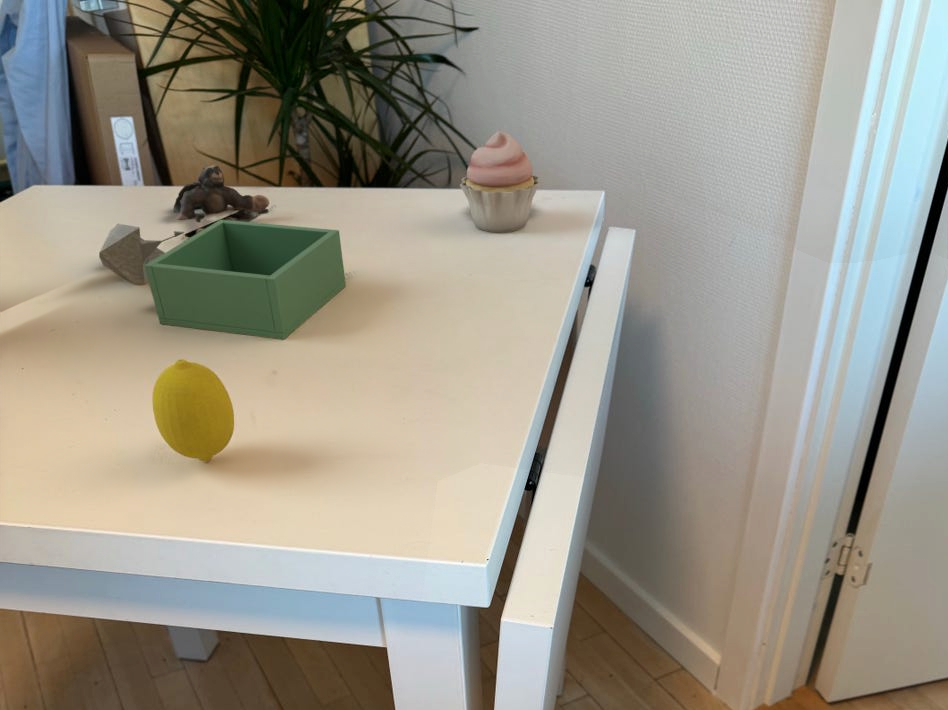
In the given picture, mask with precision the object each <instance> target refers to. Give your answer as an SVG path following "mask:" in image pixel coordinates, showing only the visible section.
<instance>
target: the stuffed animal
mask: <svg viewBox="0 0 948 710" xmlns="http://www.w3.org/2000/svg"><path fill="white" fill-rule="evenodd" d="M197 181H198V182H195V181H194V182H192V183H188V184H185V185H184V186H183V187H182V188H181V189H180V191H179V193H178V196H177V197H176V198H175V202H174V204H173V213H174V214H178V215H177V216H176V217H174V220H176V221H188V220H192V219H194V218H195V217H196V218H195V222H196V223H201V222H202V221H201V220H203V219H204V218H205V217H206V216H205V215H204V214H206V215H215V214H219V213H223V212H226V211H227V210H228V206H231V208H233V209H234V210H237V211H236V212H234V213H231V214H229V215H226V216H224V217H222V218H220V219H217V220H215V221H212V222H210V223H208V224H205V225H202V226H200V227H198V228H196V229H193V230H191V231H188V232H186V233H183V236H185V237H187V239H189V238H191V237H192V236H194V235H196V234H197V233H199V232H201V231H202V230H204V229H206V228H207V227H209V226H211V225H212V224H214V223H216V222H217V221H219V220H230V221H242V222H250V221H252V220H253V219H257V218H258V217H259V216H261V214H266V213H269V212H270V210H269V209H268V207H269V205H270V200H269V198H268V197H267V196H265V195H262V194H257V195H250V194H246V195H242V194H241V193H240V192H238V190H237V189H235V188H233V187H230V186H227V185H226V186H225V176H224V173H223V171H222V169H221V168H220V166H219V165H214V164H212V165H206V166H205V167H202V171H201V173H200V174H199V175H197ZM196 210H202V212H203V213H204V214H201V215H198V216H196V212H195V211H196ZM238 210H239V211H238Z"/></svg>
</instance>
